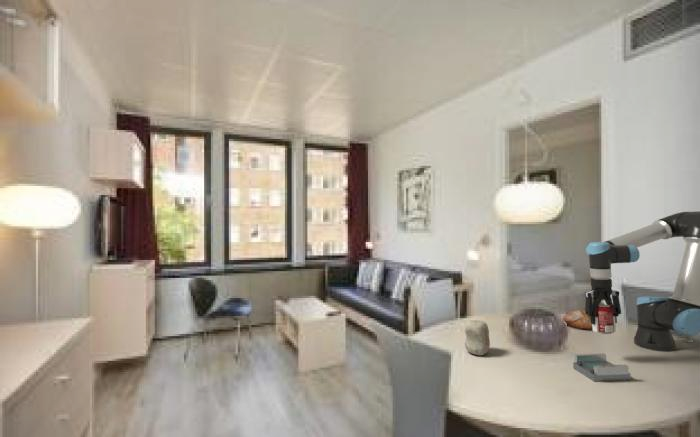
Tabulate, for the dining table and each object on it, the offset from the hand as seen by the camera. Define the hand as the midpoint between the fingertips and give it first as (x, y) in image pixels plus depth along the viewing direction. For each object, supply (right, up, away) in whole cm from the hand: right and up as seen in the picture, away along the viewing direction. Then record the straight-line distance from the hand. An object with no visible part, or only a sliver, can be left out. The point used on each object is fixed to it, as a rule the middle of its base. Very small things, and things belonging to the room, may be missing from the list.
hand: (604, 331), depth 153 cm
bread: (+21, -13, +47) cm, 53 cm away
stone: (-50, -15, +14) cm, 54 cm away
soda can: (0, -1, 0) cm, 1 cm away
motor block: (-11, -13, -13) cm, 21 cm away
